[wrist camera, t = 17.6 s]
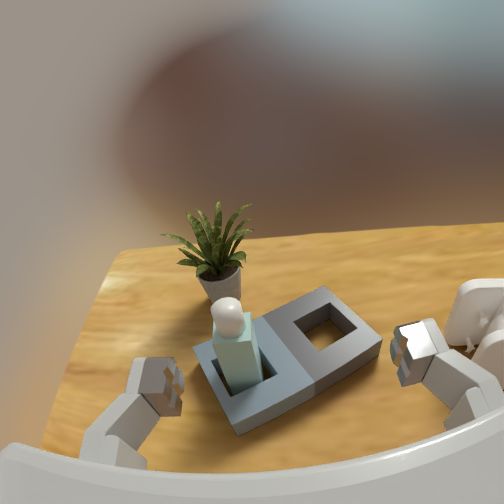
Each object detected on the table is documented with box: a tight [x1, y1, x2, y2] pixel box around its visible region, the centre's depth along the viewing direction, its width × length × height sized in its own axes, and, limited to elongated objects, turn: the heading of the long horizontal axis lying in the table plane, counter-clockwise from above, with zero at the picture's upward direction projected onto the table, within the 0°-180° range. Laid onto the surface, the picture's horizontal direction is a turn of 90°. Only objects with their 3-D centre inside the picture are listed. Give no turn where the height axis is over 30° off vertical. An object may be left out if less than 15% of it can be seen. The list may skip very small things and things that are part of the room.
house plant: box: [162, 200, 254, 304], centre depth 48 cm, size 14×14×16 cm
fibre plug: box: [211, 297, 264, 396], centre depth 34 cm, size 4×4×14 cm
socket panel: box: [192, 285, 383, 436], centre depth 39 cm, size 21×13×4 cm, turn 116°
